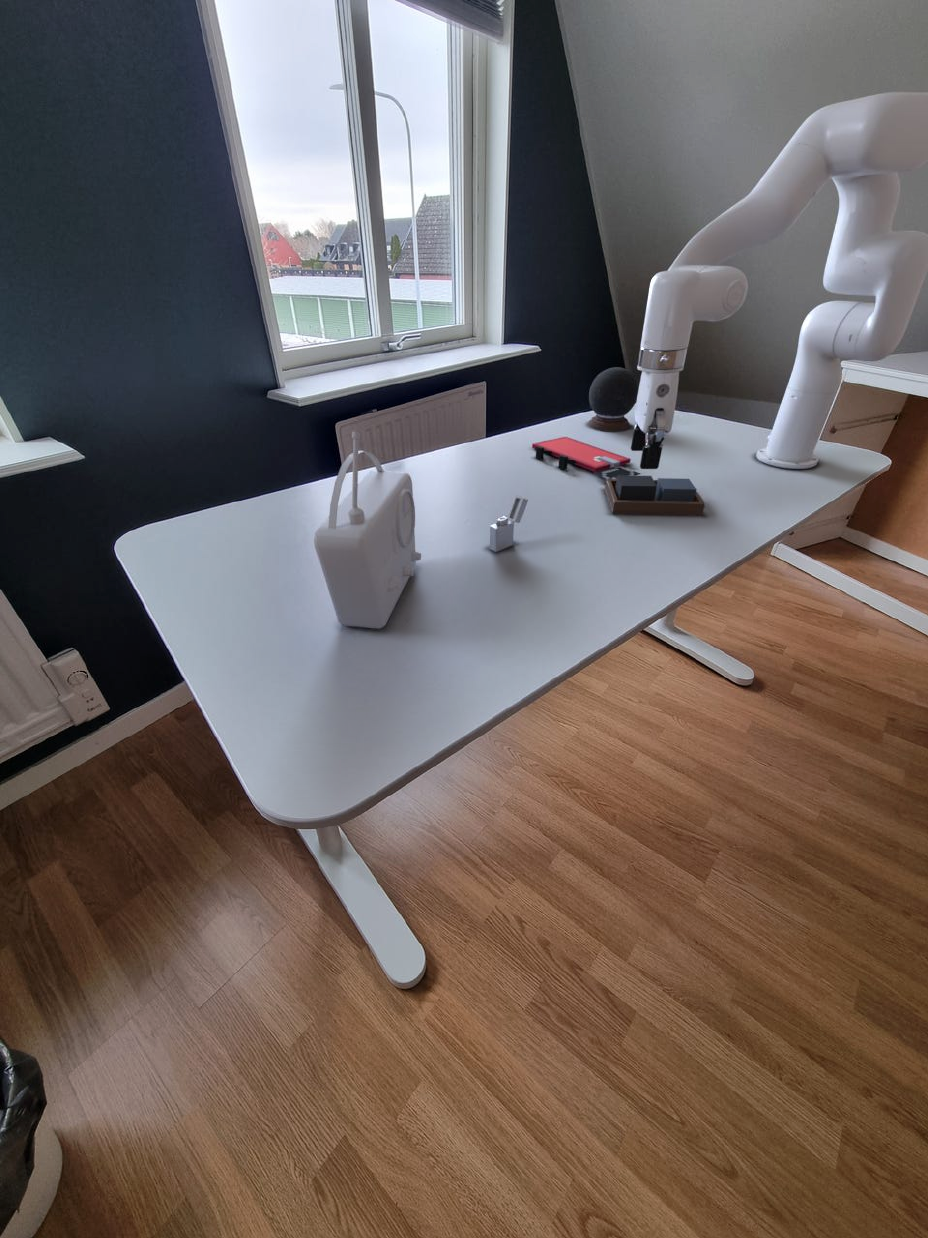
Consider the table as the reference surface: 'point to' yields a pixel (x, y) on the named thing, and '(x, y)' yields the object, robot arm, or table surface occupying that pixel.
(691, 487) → the pad
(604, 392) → the dark sphere on stand
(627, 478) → the black block
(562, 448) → the red board with handle
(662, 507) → the brown wooden tray
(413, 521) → the radio
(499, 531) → the lighter
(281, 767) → the table surface
